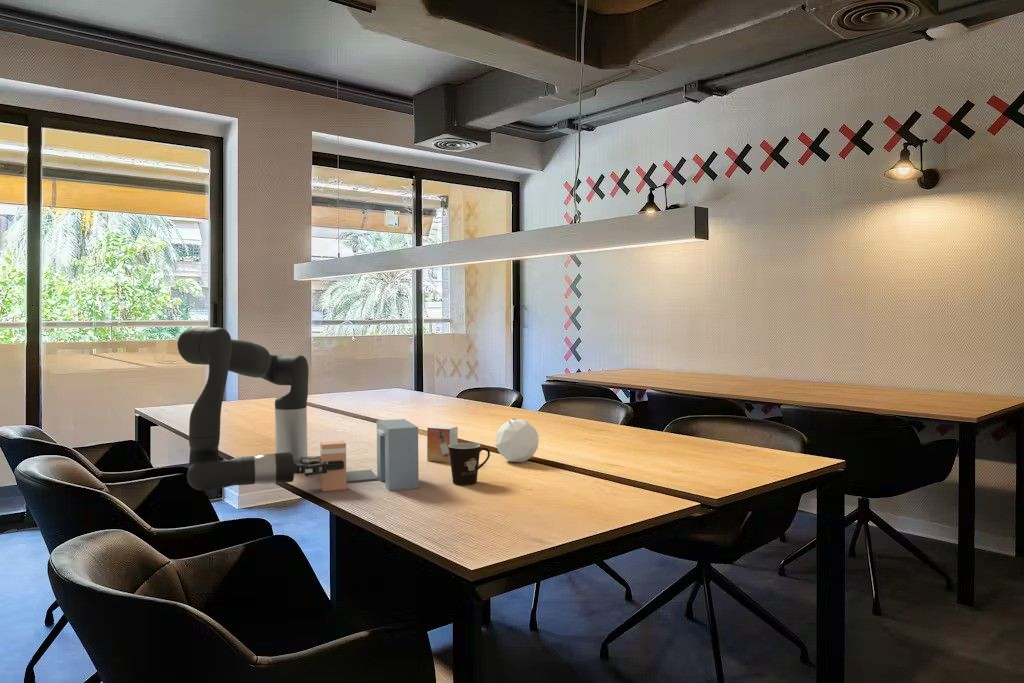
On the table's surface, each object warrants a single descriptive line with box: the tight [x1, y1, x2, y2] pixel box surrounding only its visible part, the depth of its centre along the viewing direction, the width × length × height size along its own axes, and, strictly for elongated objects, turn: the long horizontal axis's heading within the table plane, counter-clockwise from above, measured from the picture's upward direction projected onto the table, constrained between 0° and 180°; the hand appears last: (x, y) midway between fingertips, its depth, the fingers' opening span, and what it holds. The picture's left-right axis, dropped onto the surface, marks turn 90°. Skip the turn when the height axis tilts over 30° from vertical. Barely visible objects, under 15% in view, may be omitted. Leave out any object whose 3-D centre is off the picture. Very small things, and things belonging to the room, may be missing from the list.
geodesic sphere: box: [495, 417, 540, 463], centre depth 222 cm, size 14×14×14 cm
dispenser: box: [376, 418, 420, 492], centre depth 195 cm, size 16×9×16 cm, turn 21°
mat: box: [346, 469, 380, 484], centre depth 202 cm, size 12×11×1 cm
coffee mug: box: [449, 442, 491, 486], centre depth 195 cm, size 12×9×10 cm
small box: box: [426, 425, 459, 464], centre depth 225 cm, size 8×6×10 cm
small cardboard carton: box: [319, 440, 348, 492], centre depth 189 cm, size 4×6×12 cm
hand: (342, 463), depth 190 cm, fingers closed on small cardboard carton, 4 cm apart
